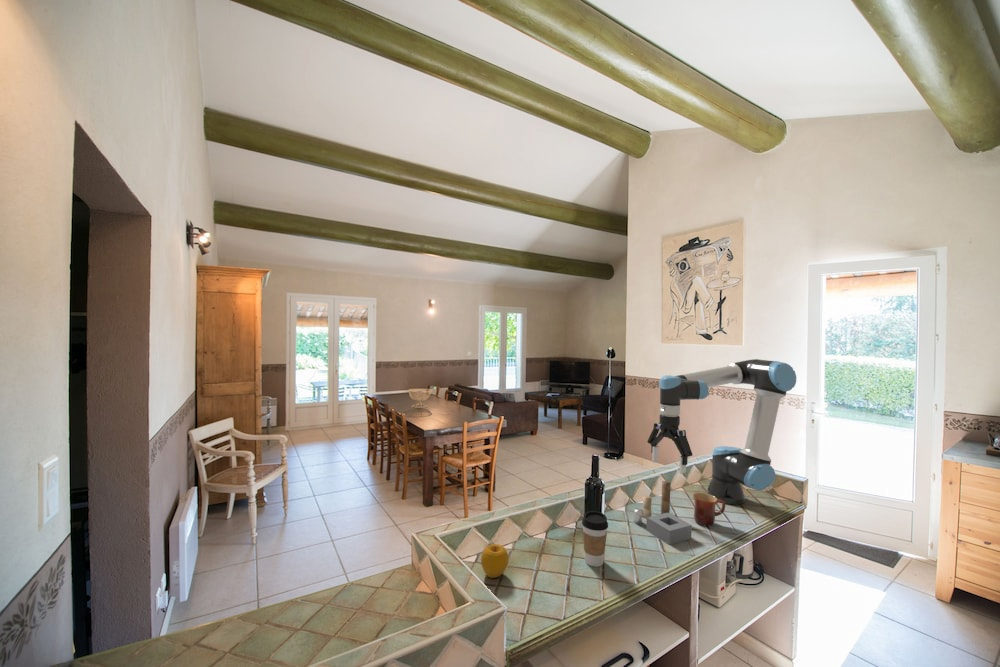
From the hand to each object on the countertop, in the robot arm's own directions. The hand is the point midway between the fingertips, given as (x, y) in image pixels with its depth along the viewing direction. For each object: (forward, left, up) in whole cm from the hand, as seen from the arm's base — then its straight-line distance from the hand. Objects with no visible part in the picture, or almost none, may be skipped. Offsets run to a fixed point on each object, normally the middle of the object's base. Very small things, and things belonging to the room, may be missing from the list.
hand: (668, 467), depth 168 cm
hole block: (+10, +10, -21) cm, 25 cm away
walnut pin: (-1, -2, -21) cm, 21 cm away
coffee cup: (+47, +13, -21) cm, 53 cm away
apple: (+80, +8, -21) cm, 83 cm away
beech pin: (+7, -4, -21) cm, 22 cm away
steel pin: (+14, -2, -21) cm, 25 cm away
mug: (-12, +9, -21) cm, 26 cm away
